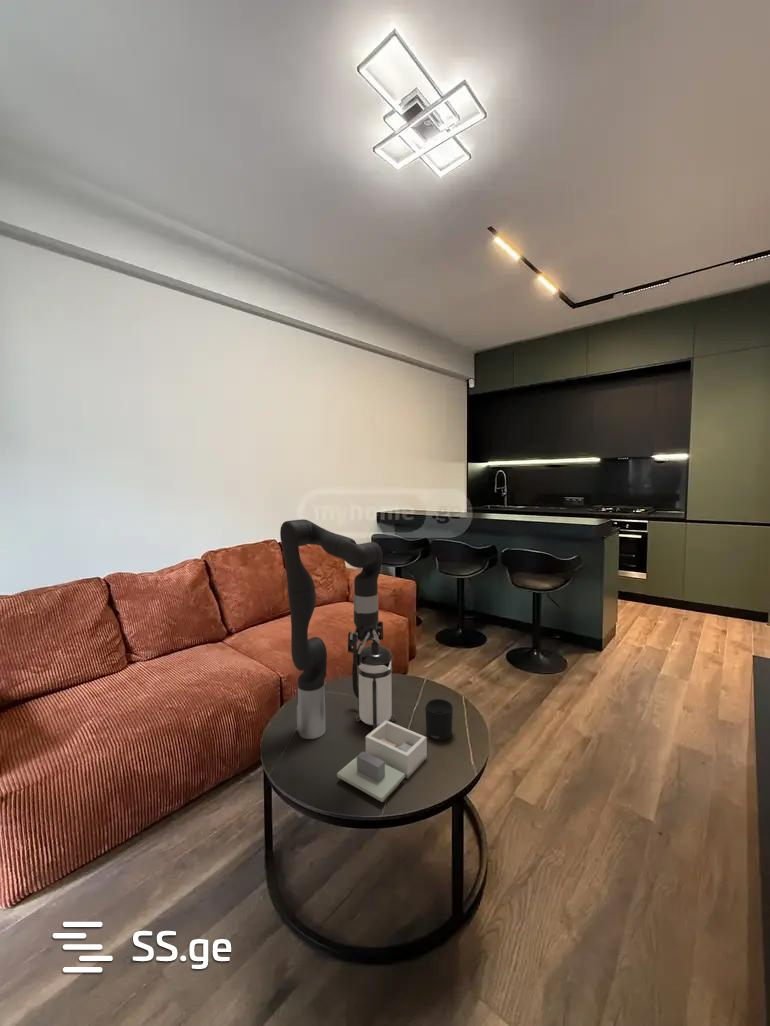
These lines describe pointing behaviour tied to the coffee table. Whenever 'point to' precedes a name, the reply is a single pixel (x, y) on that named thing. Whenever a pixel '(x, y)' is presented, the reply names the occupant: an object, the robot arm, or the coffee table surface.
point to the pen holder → (439, 719)
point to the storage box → (397, 747)
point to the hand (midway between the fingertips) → (366, 659)
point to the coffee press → (374, 686)
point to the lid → (371, 776)
